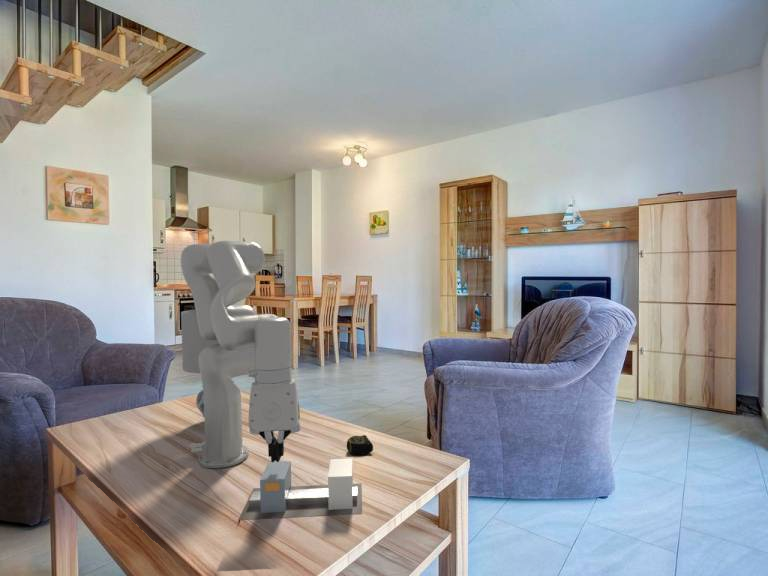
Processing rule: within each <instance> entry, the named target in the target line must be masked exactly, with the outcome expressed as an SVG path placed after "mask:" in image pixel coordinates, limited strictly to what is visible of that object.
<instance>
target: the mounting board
mask: <svg viewBox="0 0 768 576" xmlns="http://www.w3.org/2000/svg"><path fill="white" fill-rule="evenodd" d="M353 487H357V502H353V509H333V510H329V504H311V505H290V506H286V511H285V512H272V513H261V507H249V499H250V497H251V495H252V493H253V492H257V491H260V487H256V488H255V487H253V488H252V491H251V492H250V494H249V496H248V498H247V501H246V503H245V506H244V507H243V509H242V511H241V514H240V516H239V517H238V519H237V520H238V521H237V522H238V525H240V523H241V521H249V520H251V521H252V520H270V519H272V520H273V519H286V518H287V519H288V518H289V519H290V518H306V517H307V518H309V517H326V516H327V517H329V516H332V517H333V516H347V515H348V516H349V515H362V514H363V496H362V495H363V493H362V492H363V489H362V488H363V486H362V483H359V482H357V483H353ZM322 488H328V484H318V485H317V484H316V485H298V486H297V485H296V486H295V485H294V486H292V485H291V490H300V489H322Z"/></svg>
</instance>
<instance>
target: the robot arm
mask: <svg viewBox="0 0 768 576" xmlns="http://www.w3.org/2000/svg"><path fill="white" fill-rule="evenodd" d="M265 264H266V255H265V253H264V250H263V248H262V247H261V246H260V245H259V244H258V243H256V242H254V241H246V240H245V241H243V240H240V241H239V240H220V241H216V242H213V243H196V244H195V243H194V244H189V245H187V246H185V247H184V248H183V250H182V251H181V254H180V266H181V267H180V268H181V272H182V275H183V278H184V280H185V283H186V284H187V287H188V288H189V289H190V292H191V294H192V297H193V303H194V310H196V315H197V321H198V326H199V331H200V334H201V336H202V337H203V338H204V339H205V340H210V341H211V340H218V342H219V344H214V345H211V346H208V347H206V348H204V349H203V350H202V351H201V353H200V355H199V368H200V372H201V373H200V376H201V383H202V385H203V387H202V390H203V395H204V416H203V419H204V421H205V423H204V441H203V442H202V443H199V442H196V443H195V442H194V443H193V442H192V443H190V446H189V448H190V449H189V451H191V454H194V455H195V454H200V456H199V457H198V458H199V459H198V460H199V465H200V466H202V467H204V468H207V469H222V468H223V469H224V468H228V467H232V466H234V465H238V464H241V463H242V462H243V461H244V460H246V459H247V458H248V457H249V448H248V447H247V446H245V445H243V417H242V415H243V412H242V410H243V409H242V393H241V390H240V388H239V386H237V384H235V382H234V383H233V382H232V381H233V380H232V379H233V378H236V377H240V376H245V375H248V377H249V378H250V377H251V378H253V379H254V381H253V382H252V383H251V386H250V394H249V402H248V403H249V406H248V407H249V408H248V427H249V433H250V434H251V435H255V436H256V435H257V436H260V437H261V438H262V439H264V441H265V443H266V444H267V449H268V450H267V451H268V454H267V455H268V457H270V462H279V461H280V460H281V459H282V457H283V456H284V455H285V447H284V445H285V443H284V441H285V440H286V439H287V438H288V437H289V436H290V435H292V434H296V433H299V432H300V431H301V428H302V426H301V423H300V417H301V416H300V415H301V414H300V411H301V410H300V401H299V393H298V387H297V382H296V379H294V378H293V372H292V367H293V366H292V364H293V363H292V361H293V360H292V334H291V333H292V331H291V329H292V328H291V327H292V326H291V322H290V320H289V319H288V318H286V317H282V316H281V317H280V316H278V315H276V314H274V313H273V314H272V313H262V314H257V313H256V311H255V309H254V308H253V306H250V305H247V304H237V303H239V302H240V301H243V300H244V299H246V298H248V297H249V296H250V295H251V294H252V293H253V292H254V290H255V288H256V280H255V279H254V276H253V274H254V273H255V274H257V273H259V272H261V271H262V270H263V269H264V267H265ZM210 274H212V275H213V277H212V276H211V275H210ZM275 432H277V438H276V436H275Z"/></svg>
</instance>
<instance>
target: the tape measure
mask: <svg viewBox="0 0 768 576" xmlns="http://www.w3.org/2000/svg"><path fill="white" fill-rule="evenodd" d="M346 450H347V451H348V453H349V454H351V455H355V456H363V455H366V454H370V453H372V452H373V450H374V445H373V443H372V442H371V441H370V439H369V438H368V436H367V435H365V434H363V435H353V436H351V437H349V438H348V439H347V441H346Z"/></svg>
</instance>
